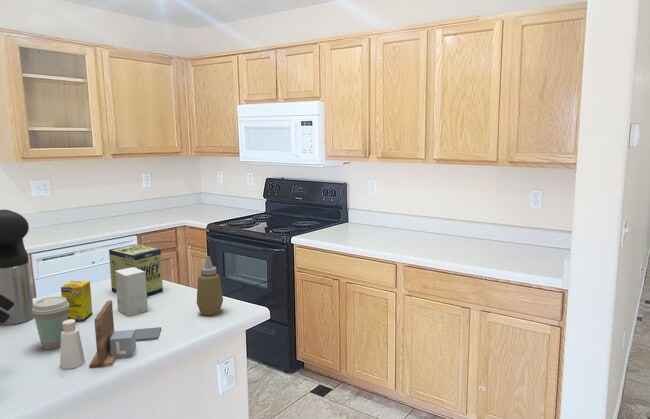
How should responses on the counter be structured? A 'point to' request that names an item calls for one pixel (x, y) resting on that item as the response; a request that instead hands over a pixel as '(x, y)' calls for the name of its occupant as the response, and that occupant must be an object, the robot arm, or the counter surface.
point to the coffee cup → (50, 320)
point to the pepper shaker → (71, 346)
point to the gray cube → (123, 343)
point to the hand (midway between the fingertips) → (9, 313)
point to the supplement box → (78, 299)
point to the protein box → (138, 265)
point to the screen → (103, 337)
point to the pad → (147, 334)
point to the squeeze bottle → (209, 290)
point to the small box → (131, 291)
